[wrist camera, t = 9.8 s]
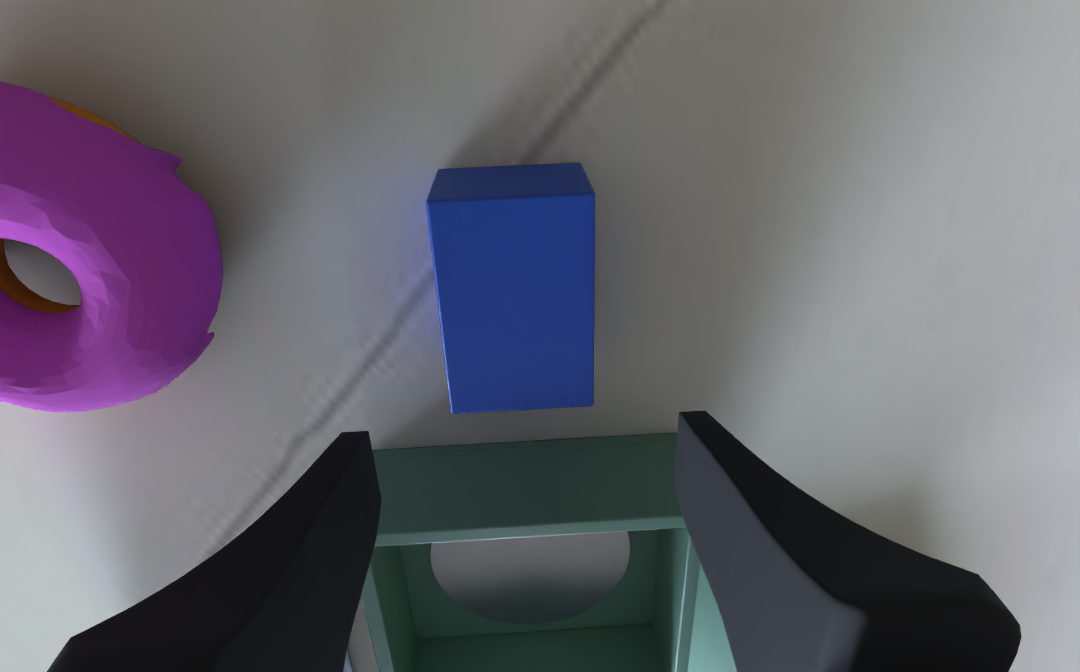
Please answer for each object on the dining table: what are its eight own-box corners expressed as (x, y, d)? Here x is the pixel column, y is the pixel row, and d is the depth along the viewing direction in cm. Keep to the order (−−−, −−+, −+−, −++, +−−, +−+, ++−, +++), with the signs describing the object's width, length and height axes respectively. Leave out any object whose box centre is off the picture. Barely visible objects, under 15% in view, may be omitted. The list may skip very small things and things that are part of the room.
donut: (-146, 247, 21) (-304, 308, 17) (-28, -25, 17) (-189, -31, 13) (160, 415, 24) (91, 499, 20) (306, 215, 21) (259, 268, 17)
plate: (441, 626, 30) (441, 630, 29) (419, 482, 26) (418, 485, 25) (627, 614, 30) (627, 618, 30) (633, 469, 26) (634, 473, 26)
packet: (457, 358, 24) (450, 415, 21) (437, 168, 20) (425, 200, 17) (582, 352, 24) (593, 407, 21) (581, 162, 21) (595, 192, 17)
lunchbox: (407, 636, 31) (393, 734, 27) (371, 449, 25) (346, 536, 21) (660, 619, 31) (684, 713, 27) (676, 432, 26) (708, 514, 22)
